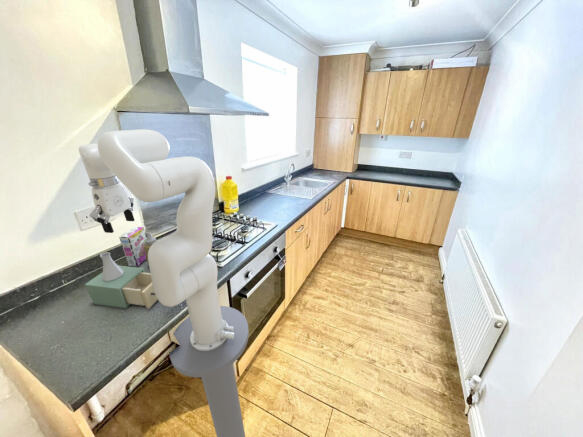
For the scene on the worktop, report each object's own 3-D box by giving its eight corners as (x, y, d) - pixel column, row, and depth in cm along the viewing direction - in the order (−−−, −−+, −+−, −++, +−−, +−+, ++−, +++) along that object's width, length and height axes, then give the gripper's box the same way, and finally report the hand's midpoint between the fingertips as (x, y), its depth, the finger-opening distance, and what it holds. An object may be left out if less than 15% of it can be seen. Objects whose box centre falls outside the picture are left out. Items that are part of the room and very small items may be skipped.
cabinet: (149, 286, 100) (143, 268, 96) (126, 308, 89) (118, 288, 85) (120, 282, 102) (113, 264, 98) (93, 303, 91) (84, 284, 87)
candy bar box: (138, 267, 113) (128, 237, 106) (128, 266, 113) (117, 237, 106) (152, 254, 123) (144, 226, 116) (143, 254, 123) (134, 226, 116)
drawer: (183, 289, 97) (179, 274, 94) (165, 310, 87) (160, 294, 84) (140, 284, 100) (135, 269, 97) (118, 304, 90) (111, 288, 86)
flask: (126, 275, 92) (118, 254, 88) (104, 284, 87) (94, 262, 83) (122, 267, 97) (114, 247, 92) (100, 275, 92) (91, 254, 88)
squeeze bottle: (150, 261, 117) (140, 229, 109) (167, 258, 119) (159, 227, 112) (146, 271, 110) (135, 237, 102) (165, 267, 112) (156, 235, 105)
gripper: (91, 189, 71) (109, 238, 78) (133, 175, 87) (146, 217, 94) (70, 188, 72) (90, 236, 79) (116, 175, 88) (129, 216, 95)
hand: (120, 226), depth 86 cm, fingers open, 9 cm apart
